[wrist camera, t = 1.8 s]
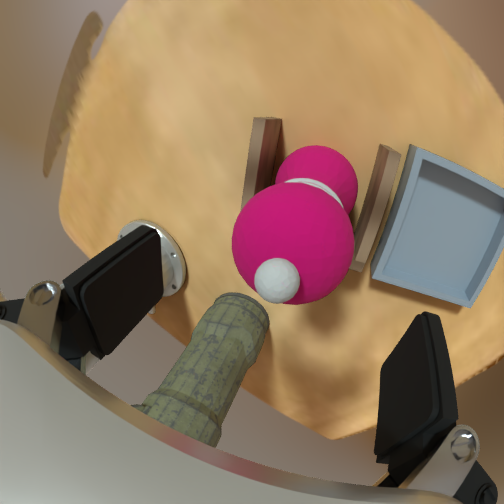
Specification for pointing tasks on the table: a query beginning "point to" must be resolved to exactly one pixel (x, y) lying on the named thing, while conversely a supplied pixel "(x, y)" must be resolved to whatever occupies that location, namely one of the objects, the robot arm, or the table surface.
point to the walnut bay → (375, 200)
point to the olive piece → (210, 369)
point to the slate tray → (441, 230)
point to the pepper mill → (299, 229)
